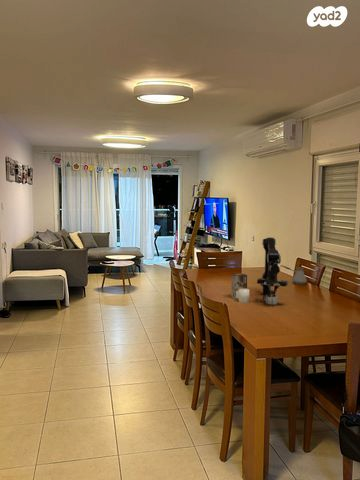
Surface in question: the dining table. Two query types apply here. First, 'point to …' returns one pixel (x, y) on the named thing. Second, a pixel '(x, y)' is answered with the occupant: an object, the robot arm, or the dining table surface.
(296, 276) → the coffee pot
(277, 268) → the robot arm
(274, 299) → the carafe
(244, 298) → the mug
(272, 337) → the dining table surface
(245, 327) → the dining table surface
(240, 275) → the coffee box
